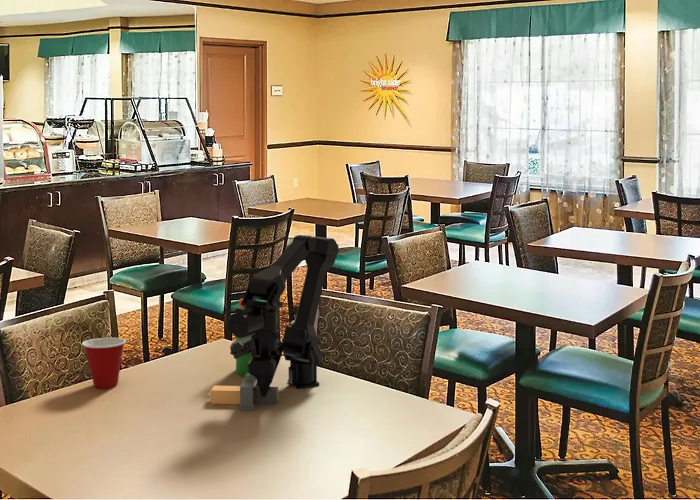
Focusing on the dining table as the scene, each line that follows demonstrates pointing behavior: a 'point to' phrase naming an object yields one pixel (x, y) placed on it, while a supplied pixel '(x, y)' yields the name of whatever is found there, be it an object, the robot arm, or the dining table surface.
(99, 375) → the plastic cup
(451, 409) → the dining table surface
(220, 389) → the plug
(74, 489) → the dining table surface
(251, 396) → the housing
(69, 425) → the dining table surface
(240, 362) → the green tall cylinder
